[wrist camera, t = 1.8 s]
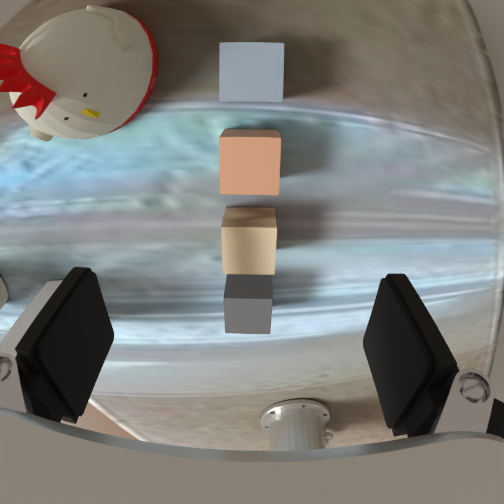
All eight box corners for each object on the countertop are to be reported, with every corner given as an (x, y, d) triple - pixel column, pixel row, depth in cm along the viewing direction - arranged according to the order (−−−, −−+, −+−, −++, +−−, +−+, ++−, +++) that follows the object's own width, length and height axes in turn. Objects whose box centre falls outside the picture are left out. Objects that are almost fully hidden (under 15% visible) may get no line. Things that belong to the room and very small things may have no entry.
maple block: (274, 207, 33) (277, 227, 29) (272, 249, 35) (274, 274, 31) (226, 206, 33) (221, 226, 29) (226, 248, 36) (222, 273, 31)
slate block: (279, 50, 25) (284, 43, 21) (278, 99, 28) (282, 102, 23) (225, 49, 25) (219, 42, 21) (225, 99, 28) (219, 101, 23)
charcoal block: (270, 272, 37) (272, 299, 33) (268, 306, 39) (270, 334, 35) (227, 271, 37) (223, 298, 33) (228, 305, 39) (225, 333, 35)
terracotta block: (277, 129, 29) (281, 137, 25) (275, 178, 31) (278, 195, 27) (225, 128, 29) (219, 137, 25) (225, 177, 32) (220, 194, 27)
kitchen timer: (93, 160, 30) (6, 217, 17) (26, 82, 25) (-72, 103, 12) (186, 68, 26) (125, 56, 13) (106, -13, 21) (18, -50, 8)
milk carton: (85, 277, 38) (15, 388, 21) (104, 318, 41) (52, 429, 25) (47, 279, 38) (-23, 377, 22) (66, 318, 42) (11, 417, 25)
